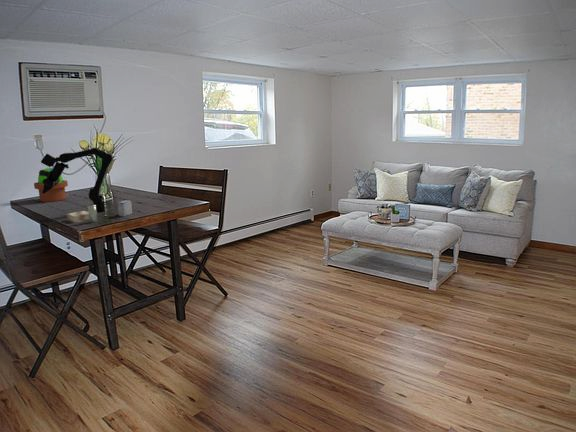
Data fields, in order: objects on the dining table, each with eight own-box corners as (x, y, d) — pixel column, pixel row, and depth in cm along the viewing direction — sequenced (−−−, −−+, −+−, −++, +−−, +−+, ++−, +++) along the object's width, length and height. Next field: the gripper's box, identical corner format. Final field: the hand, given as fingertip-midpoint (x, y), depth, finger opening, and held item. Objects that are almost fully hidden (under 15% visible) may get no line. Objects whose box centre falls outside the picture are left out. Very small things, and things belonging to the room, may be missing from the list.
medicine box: (126, 213, 280) (125, 200, 278) (132, 213, 278) (131, 200, 276) (118, 216, 272) (117, 202, 270) (124, 216, 271) (123, 202, 269)
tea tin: (90, 221, 260) (87, 204, 258) (98, 220, 261) (96, 204, 259) (88, 223, 256) (86, 206, 253) (97, 222, 257) (95, 205, 255)
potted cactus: (32, 200, 330) (26, 167, 325) (62, 196, 347) (57, 164, 341) (43, 203, 317) (38, 169, 311) (74, 199, 333) (70, 166, 327)
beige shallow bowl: (85, 216, 272) (84, 210, 271) (93, 219, 265) (92, 213, 264) (67, 220, 264) (66, 213, 263) (74, 222, 257) (73, 216, 256)
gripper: (48, 162, 281) (36, 183, 282) (40, 166, 264) (27, 188, 265) (65, 171, 285) (53, 192, 286) (58, 175, 268) (46, 197, 268)
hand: (45, 192), depth 276 cm, fingers open, 9 cm apart
